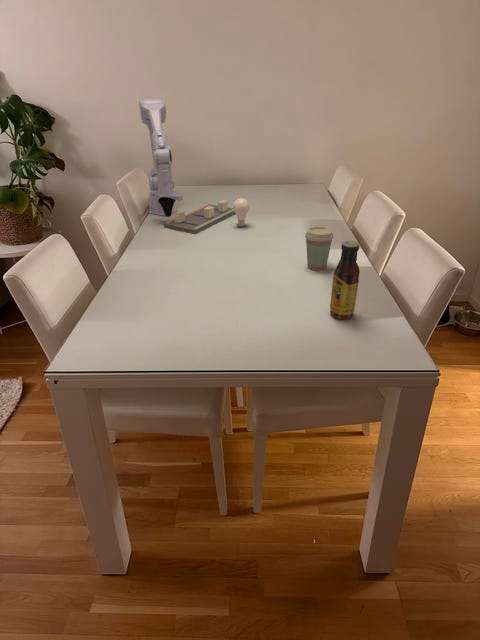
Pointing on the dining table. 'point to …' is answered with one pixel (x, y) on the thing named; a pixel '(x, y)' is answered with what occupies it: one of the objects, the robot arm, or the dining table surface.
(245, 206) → the lightbulb
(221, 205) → the breaker left
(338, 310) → the sauce bottle
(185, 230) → the breaker panel
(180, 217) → the block
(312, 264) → the coffee cup
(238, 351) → the dining table surface
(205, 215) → the breaker middle
